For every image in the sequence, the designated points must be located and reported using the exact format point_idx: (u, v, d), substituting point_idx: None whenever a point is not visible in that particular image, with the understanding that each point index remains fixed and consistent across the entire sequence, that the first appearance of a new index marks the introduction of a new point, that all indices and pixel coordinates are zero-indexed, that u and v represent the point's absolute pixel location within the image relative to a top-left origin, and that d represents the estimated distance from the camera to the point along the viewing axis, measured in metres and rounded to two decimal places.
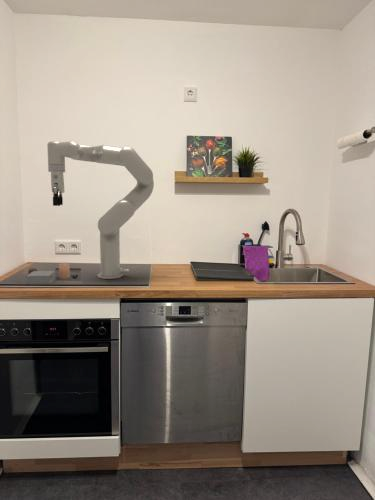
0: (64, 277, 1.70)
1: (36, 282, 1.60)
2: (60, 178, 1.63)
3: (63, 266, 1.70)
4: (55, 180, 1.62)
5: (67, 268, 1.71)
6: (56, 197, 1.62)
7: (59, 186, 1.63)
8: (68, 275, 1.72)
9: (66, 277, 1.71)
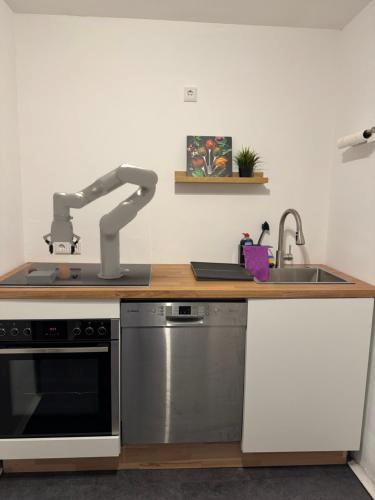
0: (64, 277, 1.70)
1: (36, 282, 1.60)
2: None
3: (63, 266, 1.70)
4: (72, 230, 1.70)
5: (67, 268, 1.71)
6: (74, 246, 1.71)
7: (73, 235, 1.72)
8: (68, 275, 1.72)
9: (66, 277, 1.71)
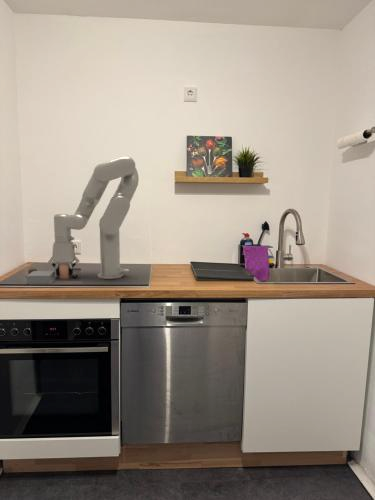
0: (64, 277, 1.70)
1: (36, 282, 1.60)
2: None
3: (63, 266, 1.70)
4: (74, 250, 1.71)
5: (67, 268, 1.71)
6: (72, 268, 1.73)
7: None
8: (68, 275, 1.72)
9: (66, 277, 1.71)
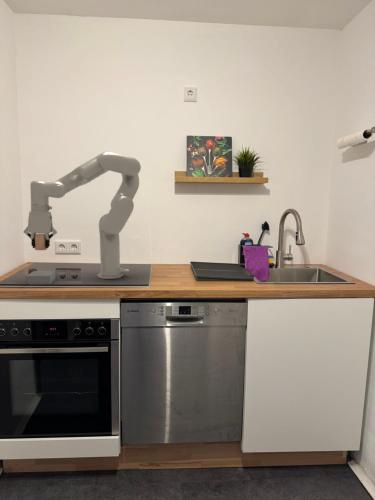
0: (39, 248, 1.60)
1: (36, 282, 1.60)
2: None
3: (39, 236, 1.60)
4: (51, 221, 1.61)
5: (43, 239, 1.61)
6: (49, 239, 1.63)
7: (52, 226, 1.63)
8: (44, 246, 1.62)
9: (42, 248, 1.61)
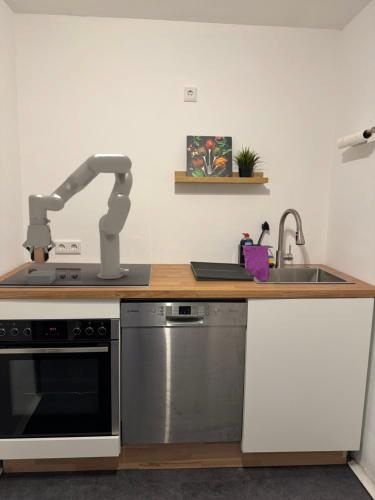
0: (39, 262, 1.61)
1: (36, 282, 1.60)
2: None
3: (38, 250, 1.60)
4: (50, 234, 1.62)
5: (42, 252, 1.61)
6: (48, 252, 1.63)
7: (51, 239, 1.64)
8: (43, 260, 1.62)
9: (41, 262, 1.61)
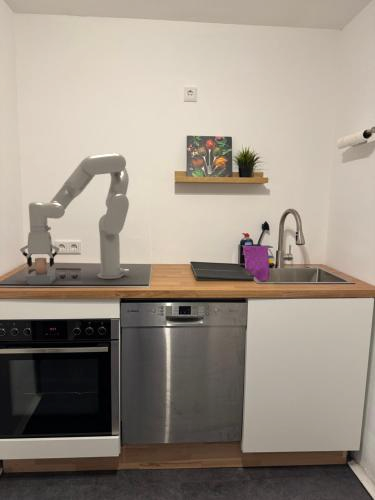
0: (40, 272, 1.62)
1: (36, 282, 1.60)
2: None
3: (39, 261, 1.61)
4: (50, 241, 1.62)
5: (43, 263, 1.62)
6: (53, 257, 1.64)
7: None
8: (45, 270, 1.63)
9: (42, 272, 1.62)
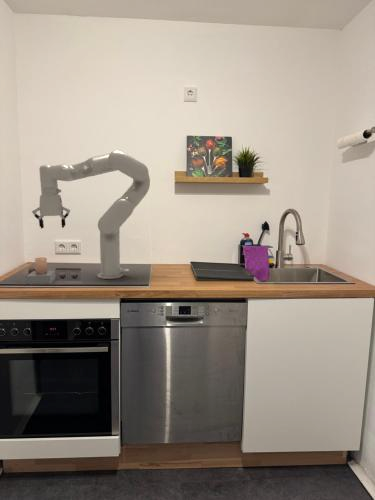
0: (40, 272, 1.62)
1: (36, 282, 1.60)
2: None
3: (39, 261, 1.61)
4: (61, 203, 1.69)
5: (44, 263, 1.62)
6: None
7: None
8: (45, 270, 1.63)
9: (43, 272, 1.62)
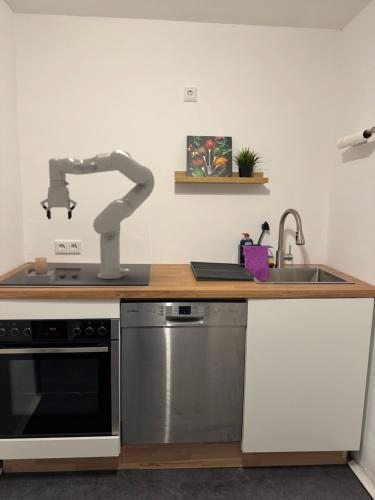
0: (40, 272, 1.62)
1: (36, 282, 1.60)
2: None
3: (40, 261, 1.61)
4: (68, 195, 1.74)
5: (44, 263, 1.62)
6: (71, 211, 1.76)
7: None
8: (45, 270, 1.63)
9: (43, 272, 1.62)
